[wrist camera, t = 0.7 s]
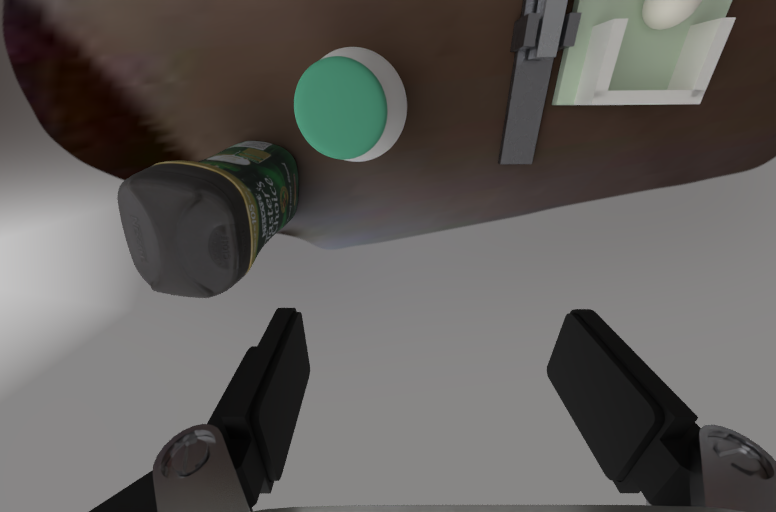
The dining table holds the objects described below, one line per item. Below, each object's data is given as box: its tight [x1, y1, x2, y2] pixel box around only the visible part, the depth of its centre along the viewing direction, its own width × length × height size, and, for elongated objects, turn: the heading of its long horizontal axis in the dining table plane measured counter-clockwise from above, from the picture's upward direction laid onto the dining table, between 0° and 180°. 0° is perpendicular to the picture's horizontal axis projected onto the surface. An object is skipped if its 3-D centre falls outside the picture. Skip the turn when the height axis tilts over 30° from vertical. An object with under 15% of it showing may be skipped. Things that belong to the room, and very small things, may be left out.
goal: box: [574, 17, 736, 105], centre depth 28 cm, size 7×10×3 cm, turn 90°
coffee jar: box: [118, 141, 299, 298], centre depth 27 cm, size 10×8×19 cm
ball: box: [642, 0, 702, 30], centre depth 26 cm, size 4×4×4 cm
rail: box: [498, 0, 582, 164], centre depth 27 cm, size 28×5×3 cm, turn 0°
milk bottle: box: [294, 47, 407, 162], centre depth 23 cm, size 8×8×20 cm
